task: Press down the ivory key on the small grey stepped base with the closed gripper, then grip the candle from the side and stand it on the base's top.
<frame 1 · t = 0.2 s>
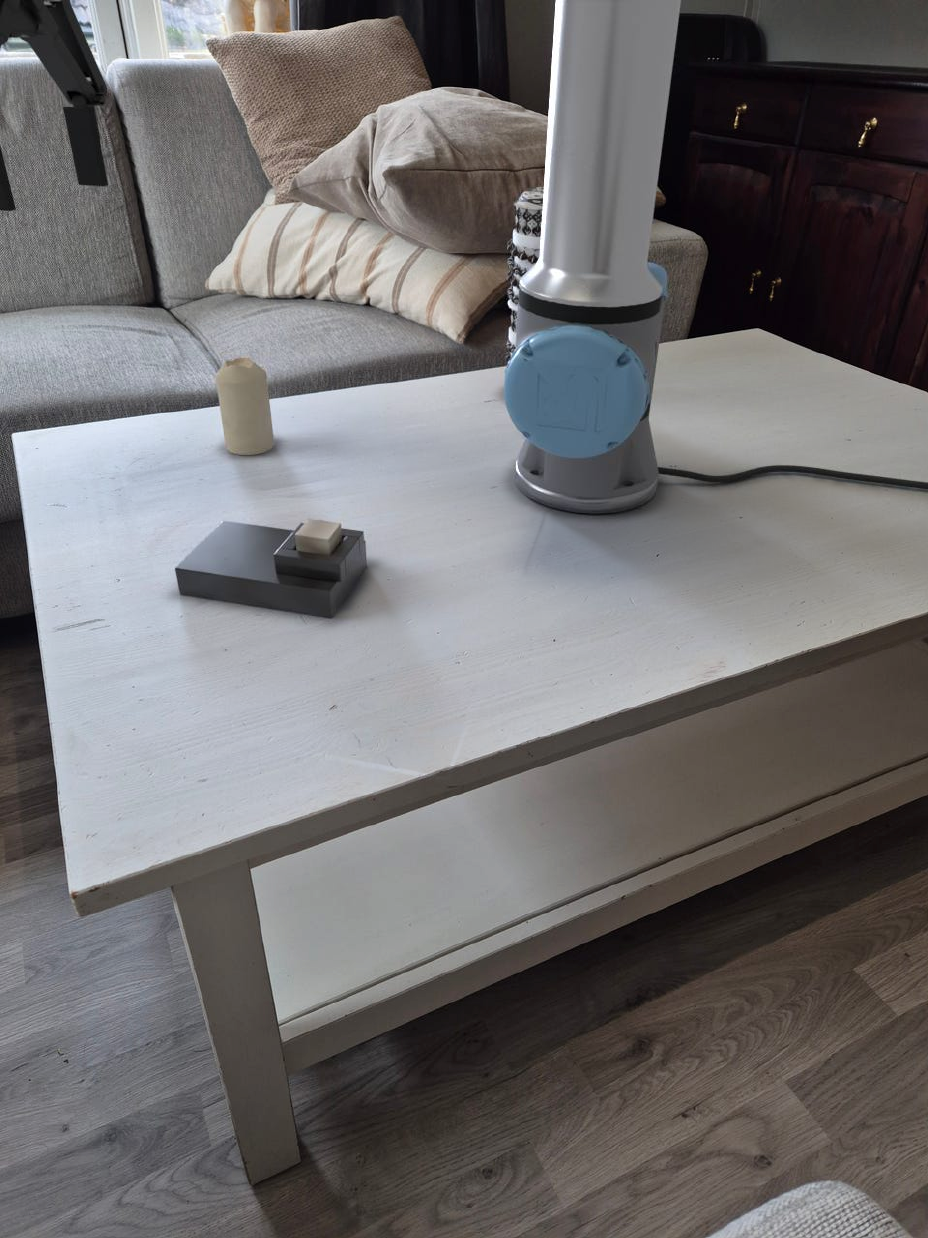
hand: (49, 196, 80), 28 cm above the table, tool pointing down, fingers open, 13 cm apart
key: (319, 537, 75), point 5 cm above the table, slide at 0.1 cm
candle: (250, 447, 103), on the table
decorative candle: (535, 396, 119), on the table
grey stepped base: (275, 579, 79), on the table
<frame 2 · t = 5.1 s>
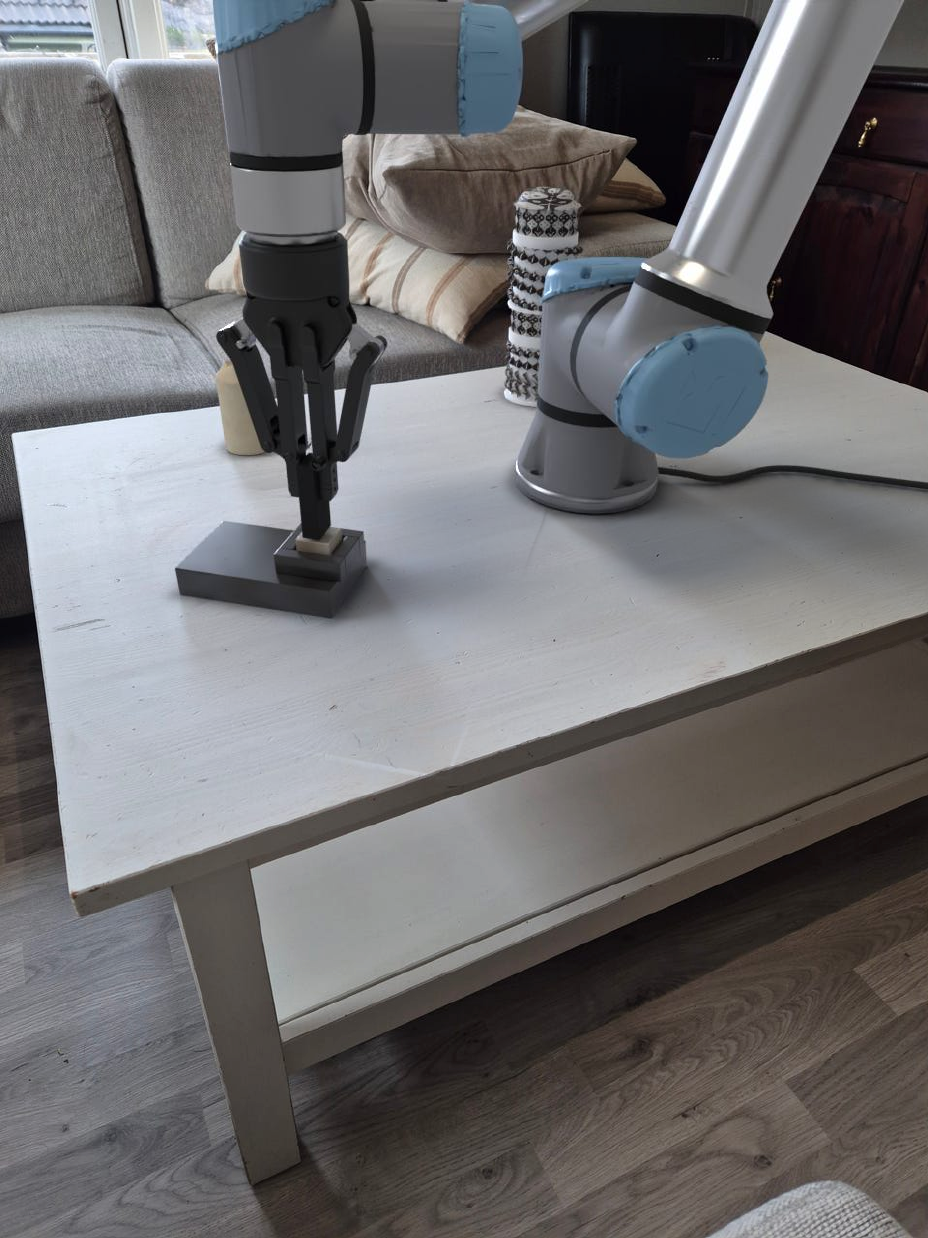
hand: (316, 531, 75), 6 cm above the table, tool pointing down, fingers closed
key: (319, 542, 76), point 4 cm above the table, slide at -0.4 cm, touching gripper
everything else where it was.
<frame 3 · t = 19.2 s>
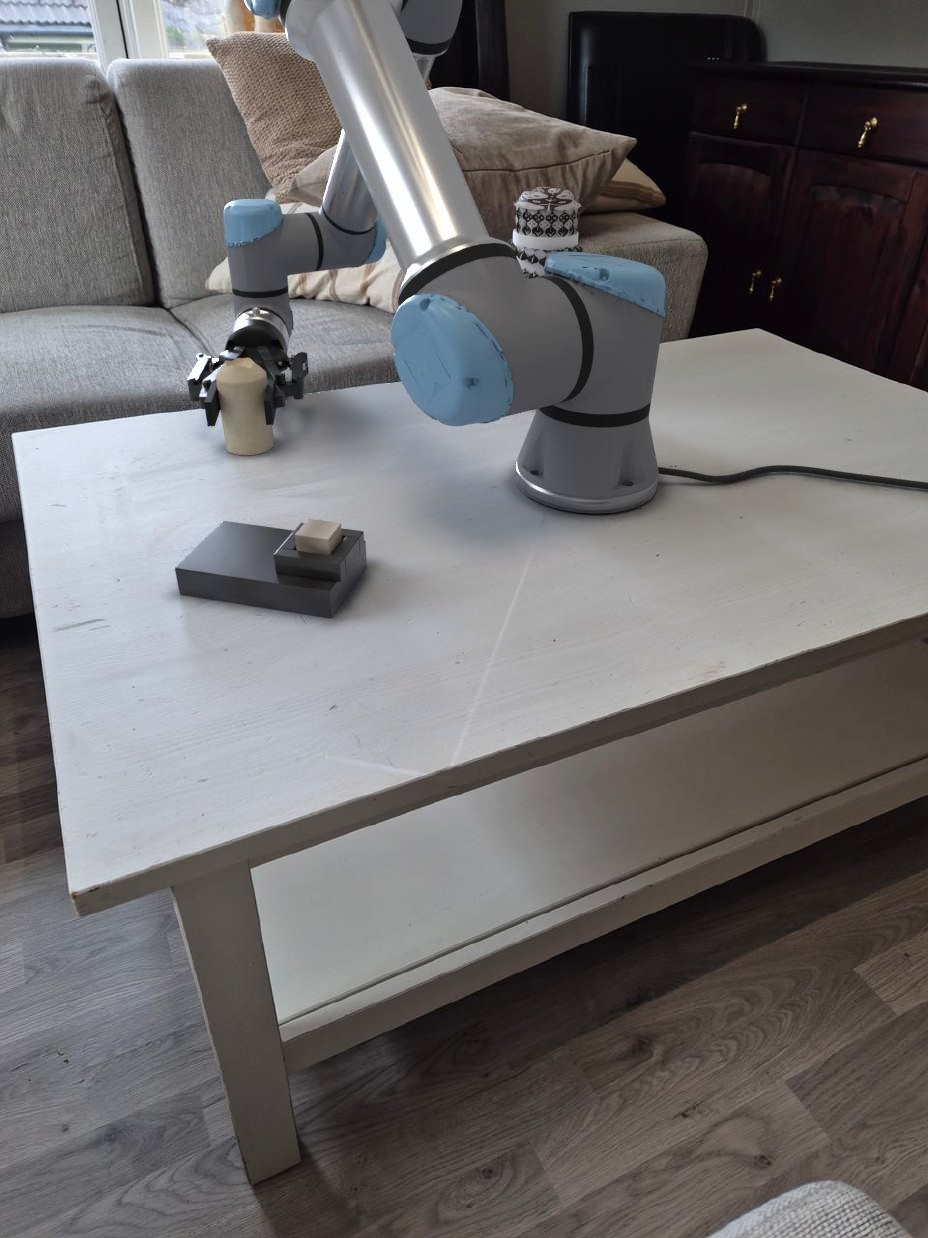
hand: (239, 413, 96), 6 cm above the table, tool horizontal, fingers closed on candle, 5 cm apart
key: (319, 537, 75), point 5 cm above the table, slide at 0.1 cm
candle: (250, 447, 103), on the table, touching gripper
everything else where it was.
when the fingers open (9 cm above the table, at t = 29.2 s): candle stays where it is, resting on grey stepped base.
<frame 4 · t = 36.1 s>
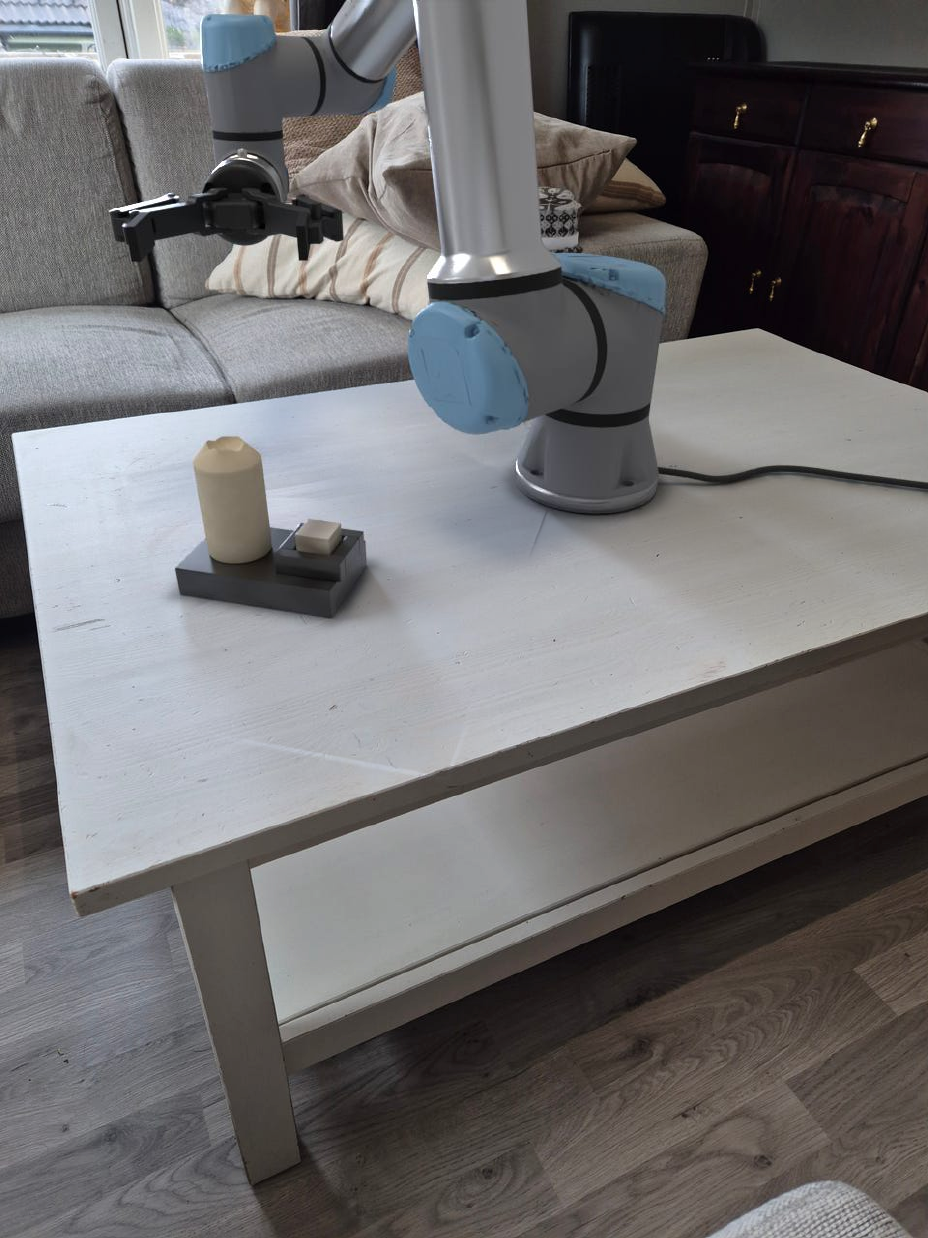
hand: (218, 243, 73), 26 cm above the table, tool horizontal, fingers open, 13 cm apart
candle: (240, 550, 78), point 3 cm above the table, touching grey stepped base
everything else where it was.
at the end: key pushed in 1.0 cm at the most during the clip, back to where it started at the end; candle inside the target area on the grey stepped base (2.6 cm from its centre), point 2.5 cm above the grey stepped base's base; candle touching grey stepped base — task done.
